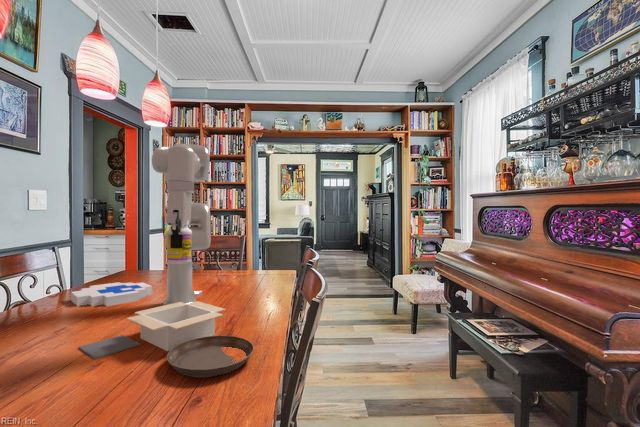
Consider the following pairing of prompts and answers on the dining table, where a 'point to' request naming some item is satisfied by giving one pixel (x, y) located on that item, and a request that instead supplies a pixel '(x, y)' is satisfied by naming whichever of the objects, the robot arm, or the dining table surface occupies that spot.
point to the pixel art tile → (111, 294)
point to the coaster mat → (108, 346)
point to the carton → (177, 323)
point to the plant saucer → (208, 356)
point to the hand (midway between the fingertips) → (179, 246)
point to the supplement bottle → (182, 253)
